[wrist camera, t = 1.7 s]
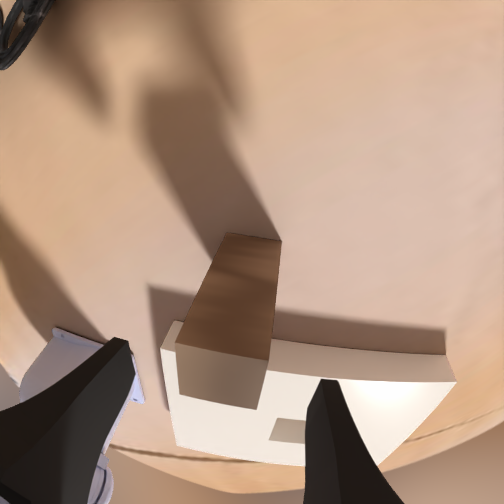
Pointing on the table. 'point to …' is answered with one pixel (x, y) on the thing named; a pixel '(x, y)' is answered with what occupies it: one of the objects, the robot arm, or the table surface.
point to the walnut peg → (231, 324)
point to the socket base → (300, 394)
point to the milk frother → (35, 8)
